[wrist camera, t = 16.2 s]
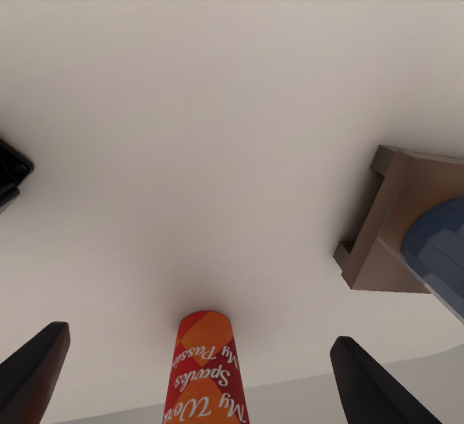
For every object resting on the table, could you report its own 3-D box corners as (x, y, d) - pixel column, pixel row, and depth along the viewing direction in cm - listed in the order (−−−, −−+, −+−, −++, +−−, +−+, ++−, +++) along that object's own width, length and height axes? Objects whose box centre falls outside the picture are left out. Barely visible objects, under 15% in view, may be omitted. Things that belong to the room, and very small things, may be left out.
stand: (330, 258, 25) (350, 289, 21) (377, 141, 20) (415, 157, 16) (431, 265, 27) (466, 295, 23) (499, 160, 22) (556, 177, 18)
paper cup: (240, 299, 26) (272, 501, 14) (242, 347, 30) (269, 541, 18) (160, 307, 26) (121, 524, 14) (172, 356, 30) (151, 560, 17)
